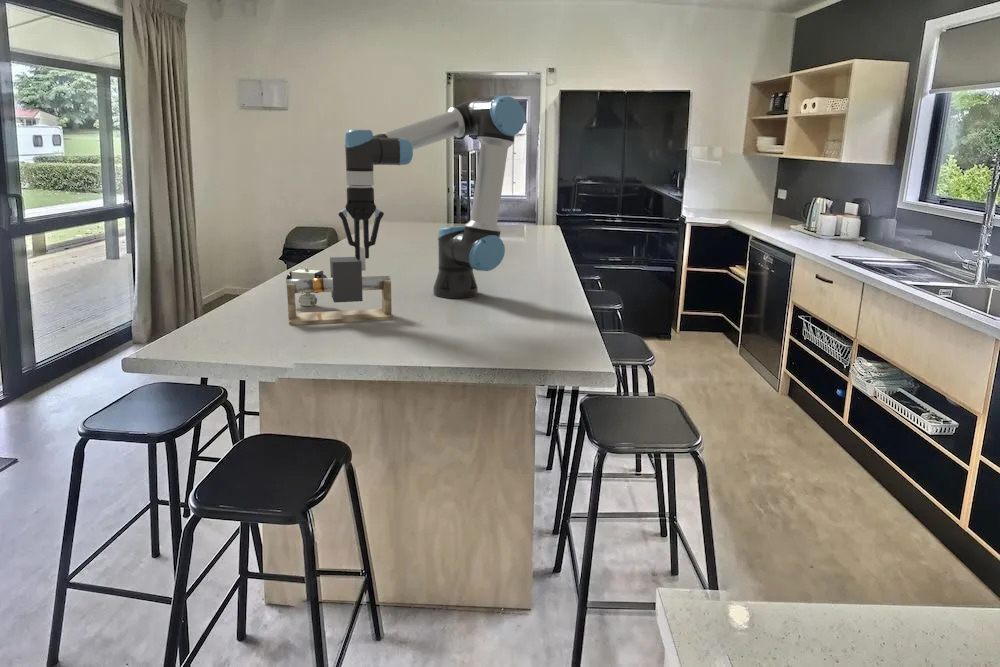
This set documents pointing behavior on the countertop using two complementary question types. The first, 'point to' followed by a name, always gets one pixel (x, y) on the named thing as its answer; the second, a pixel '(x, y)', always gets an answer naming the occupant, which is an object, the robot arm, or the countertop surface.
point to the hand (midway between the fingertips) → (362, 269)
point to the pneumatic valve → (307, 298)
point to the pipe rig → (340, 315)
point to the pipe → (327, 284)
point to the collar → (346, 279)
